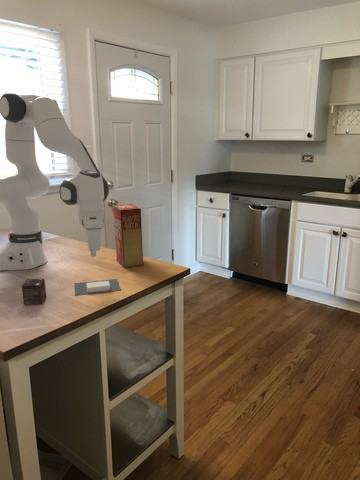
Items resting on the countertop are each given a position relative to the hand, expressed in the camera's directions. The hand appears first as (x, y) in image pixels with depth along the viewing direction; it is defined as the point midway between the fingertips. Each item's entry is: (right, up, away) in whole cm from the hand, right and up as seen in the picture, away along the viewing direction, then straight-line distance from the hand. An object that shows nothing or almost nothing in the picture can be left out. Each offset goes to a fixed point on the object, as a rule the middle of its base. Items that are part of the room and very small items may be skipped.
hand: (93, 255), depth 139 cm
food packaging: (+9, -5, +32) cm, 33 cm away
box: (-18, -16, -9) cm, 25 cm away
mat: (+1, -12, +3) cm, 12 cm away
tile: (+1, -11, +3) cm, 11 cm away
